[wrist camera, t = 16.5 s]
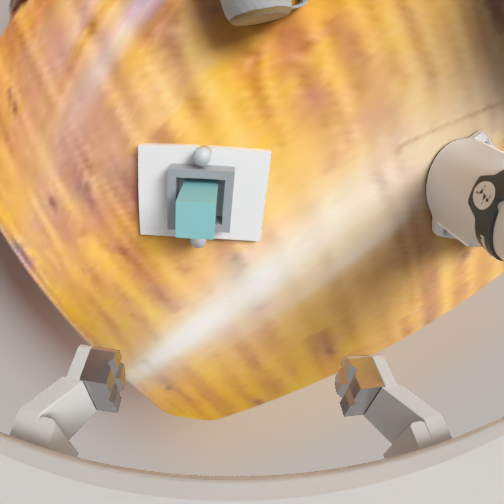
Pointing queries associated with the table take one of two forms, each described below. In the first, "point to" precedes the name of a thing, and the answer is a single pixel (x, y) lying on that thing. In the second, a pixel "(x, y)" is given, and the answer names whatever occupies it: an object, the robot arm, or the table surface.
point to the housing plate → (203, 167)
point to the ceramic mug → (257, 10)
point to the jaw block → (196, 209)
